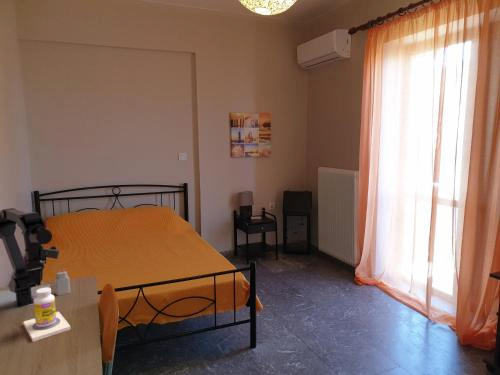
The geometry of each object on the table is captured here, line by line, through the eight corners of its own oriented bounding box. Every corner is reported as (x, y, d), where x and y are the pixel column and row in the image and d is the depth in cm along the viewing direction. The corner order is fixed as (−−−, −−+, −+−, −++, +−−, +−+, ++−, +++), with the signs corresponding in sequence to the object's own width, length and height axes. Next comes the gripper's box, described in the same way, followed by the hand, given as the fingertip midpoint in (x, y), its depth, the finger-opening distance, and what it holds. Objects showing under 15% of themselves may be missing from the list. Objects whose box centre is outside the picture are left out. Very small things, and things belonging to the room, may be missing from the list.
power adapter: (56, 293, 164) (53, 267, 162) (69, 290, 167) (67, 265, 165) (57, 295, 161) (54, 269, 160) (70, 292, 164) (68, 267, 163)
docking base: (23, 324, 136) (23, 321, 136) (58, 314, 144) (58, 310, 143) (32, 341, 124) (32, 338, 124) (70, 329, 132) (70, 325, 132)
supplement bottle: (41, 329, 129) (38, 295, 127) (32, 324, 133) (29, 291, 131) (60, 321, 135) (57, 288, 133) (50, 317, 138) (47, 284, 137)
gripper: (55, 242, 139) (62, 282, 139) (57, 238, 156) (63, 273, 156) (21, 248, 134) (28, 290, 134) (27, 243, 151) (33, 280, 151)
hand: (39, 283), depth 144 cm, fingers open, 9 cm apart
